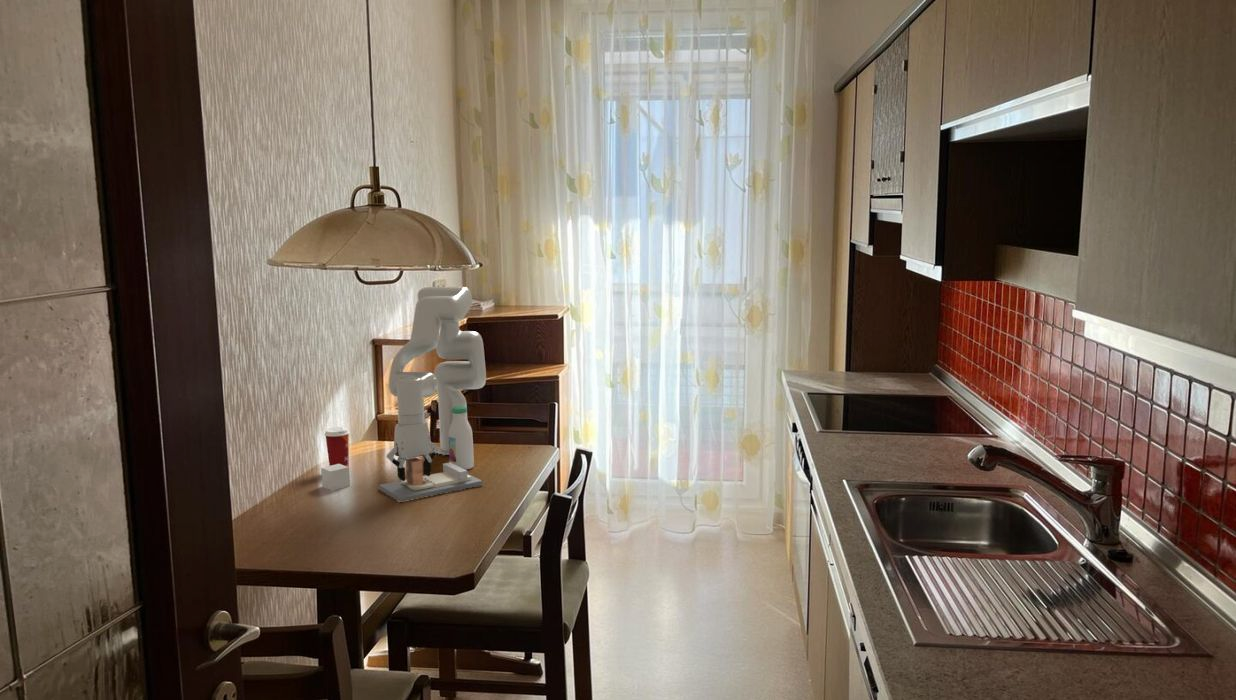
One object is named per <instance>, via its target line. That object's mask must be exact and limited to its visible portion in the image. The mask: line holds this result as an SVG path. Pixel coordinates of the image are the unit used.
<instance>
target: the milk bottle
mask: <svg viewBox="0 0 1236 700" xmlns="http://www.w3.org/2000/svg"><path fill="white" fill-rule="evenodd" d="M452 413H453V420H452V423H451V426H450V429H449V456H448V457H449V458H448V459H449V462H450V463H452V464H454V465H456V466H458V467H461V468H463V469H465V470H467V471H468V470H471V469H472V468H474V466H475V461H474V460H475V459H474V440H473V429H472V427H471V424H470V423H469V420H468V416H467V417H466V414H467V415H468V407H467V408H466V407H464V406H457V407H453V408H452Z"/></svg>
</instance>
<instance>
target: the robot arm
mask: <svg viewBox="0 0 1236 700" xmlns="http://www.w3.org/2000/svg"><path fill="white" fill-rule="evenodd" d="M472 298H473V296H472V293H471V290H470V289H469V288H468V287H466V286H427V287H422V288H421V289H419V291H418V292H417V300H418V301H416V304H415V309H414V315H413V321H412V329H411V334H410V339H409V341H407V343H405V344H404V345H403V346H402V347H401V348H400V349H399V351H398V352H397V353H396V354H395V356H394V358H393V360H392V362H391V366H390V372H389V377H388V378H389V379H388V389H389V393H390V394H391V395H392V396H394V397H396V402H397V418H398V423H396V424H395V427H394V436H393V448H392V449H391V450H390V451H389V452H388V453H387V454H386V455H385V456H386V458H387V459H388V460H389V461H390V462H391V463H392V464H393V465H394V466H395V467H396V469H397V477H398V479H399V481H401V480H402V481H405V480H406V467H404V465H405V464H406V459H409V458H414V457H416V458H419V457H422V458H423V459H424V460H423V461H422V470H423V475H424V476H426V475H427V476H430V475H431V473H432V465H431V464H432V462H433V459H434V458H435V457H436V456H437V455H439V454H442V455H441V456H445V455H449V429H450V426H451V423H452V420H453V413H452V408H453V407H457V406H464V407H466V408H467V409H468V407H467V405H468V403H467V399H466V397H465V396H464V394H463V393H462V391H461V390H478V389H482V388H483V387H484V386H485V385H486V382H487V369H486V360H485V349H484V342H483V341H484V340H483V338H482V335H481V334H480V333H479V332H477V331H473V330H472V331H471V330H464V331H463V330H461V329H460V324H459V322H461V321H462V320H463V319H464V317H465V316H466V315H467V314H468V312H469V311H470V309H471V307H472V303H473V299H472ZM433 350H435V351H436V354H437V356H438V357H439V358H441V359H443V360H449V361H443V362H440V363H438V364H436V366H435V368H434V371H433V373H432V372H429V371H427V372H426V371H404V369H405V368H406V367H407V365H408V364H409V363H410V362H411V361H413V360H414V359H416V358H418V357H420V356H422V355H425V354H426V353H429V352H432V351H433ZM453 360H455V361H453ZM456 360H457V361H456ZM459 360H467V361H459ZM436 392H437V402H438V403H437V404H438V419H439V421H438V422H439V444H440V446H438V445H437V444H435V443H434V442H432V441H431V435H430V430H429V429H430V428H429V426H428V421H427V420H426V418H429V416H430V414H429V412H425V403H424V401H425V400H424V399H425V398H429V397H433V395H434V394H435V393H436ZM466 417H467V418H468V413H467V414H466ZM437 453H438V454H437ZM395 456H396V457H397V458H395Z"/></svg>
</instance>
